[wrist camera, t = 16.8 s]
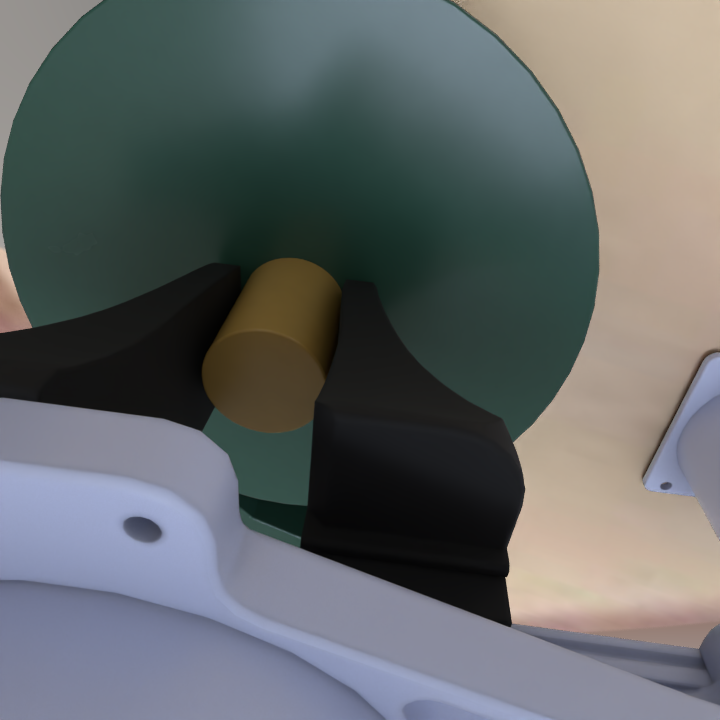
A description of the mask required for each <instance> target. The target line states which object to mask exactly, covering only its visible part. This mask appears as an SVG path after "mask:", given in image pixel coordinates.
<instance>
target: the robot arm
mask: <svg viewBox="0 0 720 720" xmlns="http://www.w3.org/2000/svg"><path fill="white" fill-rule="evenodd" d="M240 293H241V271H240V266H238V265H230V264H222V263H211V264H208V265H205V266H203V267H200V268H198V269H196V270H194V271H192V272H190V273H188V274H186V275H184V276H182V277H180V278H177V279H175V280H173V281H171V282H169V283H167V284H165V285H163V286H161V287H159V288H157V289H154V290H152V291H150V292H147V293H145V294H143V295H140V296H138V297H135V298H133V299H131V300H128V301H126V302H124V303H121V304H118V305H116V306H113V307H110V308H107V309H104V310H101V311H98V312H95V313H91V314H88V315H85V316H82V317H78V318H74V319H70V320H66V321H61V322H57V323H52V324H48V325H44V326H39V327H35V328H30V329H24V330H18V331H12V332H6V333H0V720H720V624H718V625H717V626H715V627H714V628H713V629H711V631H710V632H709V633H708V635H707V636H706V637H705V639H704V640H703V642H702V644H701V646H700V648H699V649H696V648H688V647H681V646H674V645H666V644H659V643H651V642H644V641H637V640H629V639H622V638H615V637H607V636H600V635H593V634H585V633H578V632H570V631H563V630H556V629H548V628H541V627H534V626H526V625H519V624H512V621H511V614H510V607H509V600H508V593H507V586H506V579H505V577H507V576H508V573H509V566H510V565H509V559H508V552H507V546H508V543H509V541H510V538H511V535H512V532H513V530H514V527H515V524H516V522H517V519H518V516H519V513H520V511H521V508H522V505H523V499H524V493H525V486H524V479H523V473H522V468H521V465H520V461H519V458H518V455H517V452H516V449H515V447H514V444H513V442H512V439H511V437H510V434H509V432H508V429H507V427H506V425H505V422H504V420H503V419H502V418H500V417H498V416H496V415H494V414H492V413H490V412H488V411H486V410H484V409H482V408H480V407H479V406H477V405H475V404H473V403H471V402H469V401H467V400H466V399H464V398H463V397H461V396H460V395H458V394H457V393H455V392H454V391H452V390H451V389H449V388H448V387H447V386H445V385H444V384H443V383H441V382H440V381H439V380H438V379H437V378H435V377H434V376H433V375H432V374H431V373H430V372H429V371H427V370H426V369H425V368H424V367H423V366H422V365H421V364H420V363H419V362H418V361H417V360H416V359H415V357H414V356H413V355H412V354H411V353H410V352H409V350H408V349H407V347H406V346H405V345H404V343H403V342H402V340H401V339H400V337H399V336H398V334H397V333H396V331H395V329H394V328H393V326H392V324H391V322H390V320H389V318H388V316H387V314H386V312H385V310H384V308H383V306H382V303H381V301H380V298H379V295H378V290H377V287H376V286H375V284H374V283H372V282H364V281H356V280H348V279H346V281H345V283H344V285H343V288H342V297H341V308H340V319H339V330H338V344H337V348H336V352H335V355H334V358H333V361H332V364H331V367H330V370H329V373H328V375H327V378H326V380H325V383H324V385H323V387H322V389H321V391H320V393H319V395H318V397H317V399H316V400H315V403H314V418H313V432H312V447H311V462H310V476H309V491H308V505H307V512H306V517H305V522H304V526H303V531H302V536H301V542H300V548H298V547H296V546H293V545H290V544H288V543H285V542H282V541H280V540H277V539H274V538H272V537H269V536H267V535H264V534H261V533H259V532H256V531H253V530H251V529H249V528H248V527H247V526H246V525H244V524H243V522H242V520H241V516H240V511H239V492H238V479H237V477H236V474H235V472H234V469H233V466H232V464H231V461H230V458H229V456H228V454H227V453H226V452H225V451H223V450H222V449H221V448H220V447H219V446H217V445H216V444H215V443H214V442H213V441H212V440H210V439H209V438H208V437H207V436H206V435H205V434H203V433H202V431H203V429H204V427H205V425H206V423H207V421H208V419H209V418H210V416H211V414H212V412H213V410H214V408H215V406H214V405H213V404H212V402H211V401H210V399H209V398H208V396H207V394H206V392H205V389H204V386H203V382H202V375H201V374H202V363H203V360H204V357H205V355H206V353H207V351H208V350H209V348H210V346H211V344H212V342H213V341H214V339H215V337H216V335H217V334H218V332H219V330H220V328H221V326H222V325H223V323H224V321H225V319H226V318H227V316H228V314H229V312H230V311H231V309H232V307H233V305H234V303H235V302H236V300H237V298H238V296H239V295H240ZM665 482H667V483H665ZM662 483H665V484H662ZM643 484H644V486H645V488H646V489H647V490H649V491H654V492H662V493H670V494H678V495H686V496H693V497H696V498H697V500H698V502H699V504H700V506H701V507H702V509H703V511H704V513H705V515H706V517H707V519H708V521H709V522H710V524H711V526H712V528H713V530H714V532H715V534H716V535H717V537H718V539H719V541H720V352H719V353H713V354H710V355H709V356H707V357H706V358H705V359H704V361H703V362H702V364H701V366H700V368H699V370H698V372H697V374H696V376H695V378H694V380H693V382H692V384H691V386H690V388H689V390H688V392H687V394H686V396H685V397H684V399H683V401H682V403H681V405H680V407H679V409H678V411H677V413H676V415H675V417H674V419H673V421H672V423H671V425H670V427H669V429H668V431H667V433H666V435H665V437H664V438H663V440H662V442H661V444H660V446H659V448H658V450H657V452H656V454H655V456H654V458H653V460H652V462H651V464H650V466H649V468H648V470H647V472H646V474H645V476H644V478H643Z"/></svg>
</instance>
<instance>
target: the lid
mask: <svg viewBox="0 0 720 720" xmlns="http://www.w3.org/2000/svg"><path fill="white" fill-rule="evenodd" d="M1 214H2V233H3V238H4V243H5V248H6V253H7V259H8V264H9V269H10V272H11V275H12V278H13V281H14V284H15V287H16V290H17V293H18V296H19V299H20V302H21V304H22V306H23V308H24V310H25V313H26V315H27V317H28V319H29V321H30V323H31V325H32V328H35V327H39V326H44V325H48V324H52V323H57V322H61V321H66V320H70V319H74V318H78V317H82V316H85V315H88V314H91V313H95V312H98V311H101V310H104V309H107V308H110V307H113V306H116V305H118V304H121V303H124V302H126V301H128V300H131V299H133V298H135V297H138V296H140V295H143V294H145V293H147V292H150V291H152V290H154V289H157V288H159V287H161V286H163V285H165V284H167V283H169V282H171V281H173V280H175V279H177V278H180V277H182V276H184V275H186V274H188V273H190V272H192V271H194V270H196V269H198V268H200V267H203V266H205V265H208V264H211V263H222V264H230V265H238V266H240V271H241V293H240V295H239V296H238V298H237V300H236V302H235V303H234V305H233V307H232V309H231V311H230V312H229V314H228V316H227V318H226V319H225V321H224V323H223V325H222V326H221V328H220V330H219V332H218V334H217V335H216V337H215V339H214V341H213V342H212V344H211V346H210V348H209V350H208V351H207V353H206V355H205V357H204V360H203V363H202V374H201V375H202V382H203V386H204V389H205V392H206V394H207V396H208V398H209V399H210V401H211V402H212V404H213V405H214V406H215V408H214V410H213V412H212V414H211V416H210V418H209V419H208V421H207V423H206V425H205V427H204V429H203V431H202V433H203V434H205V435H206V436H207V437H208V438H209V439H210V440H212V441H213V442H214V443H215V444H216V445H217V446H219V447H220V448H221V449H222V450H223V451H225V452H226V453H227V454H228V456H229V458H230V461H231V464H232V466H233V469H234V472H235V474H236V477H237V479H238V492H239V494H242V495H245V496H249V497H253V498H256V499H261V500H267V501H272V502H278V503H284V504H292V505H303V506H307V505H308V491H309V476H310V462H311V447H312V432H313V418H314V403H315V400H316V399H317V397H318V395H319V393H320V391H321V389H322V387H323V385H324V383H325V380H326V378H327V375H328V373H329V370H330V367H331V364H332V361H333V358H334V355H335V352H336V348H337V344H338V330H339V319H340V308H341V297H342V288H343V285H344V283H345V281H346V279H348V280H356V281H364V282H372V283H374V284H375V286H376V287H377V290H378V295H379V298H380V301H381V303H382V306H383V308H384V310H385V312H386V314H387V316H388V318H389V320H390V322H391V324H392V326H393V328H394V329H395V331H396V333H397V334H398V336H399V337H400V339H401V340H402V342H403V343H404V345H405V346H406V347H407V349H408V350H409V352H410V353H411V354H412V355H413V356H414V357H415V359H416V360H417V361H418V362H419V363H420V364H421V365H422V366H423V367H424V368H425V369H426V370H427V371H429V372H430V373H431V374H432V375H433V376H434V377H435V378H437V379H438V380H439V381H440V382H441V383H443V384H444V385H445V386H447V387H448V388H449V389H451V390H452V391H454V392H455V393H457V394H458V395H460V396H461V397H463V398H464V399H466V400H467V401H469V402H471V403H473V404H475V405H477V406H479V407H480V408H482V409H484V410H486V411H488V412H490V413H492V414H494V415H496V416H498V417H500V418H502V419H503V420H504V422H505V425H506V427H507V429H508V432H509V434H510V437H511V439H512V442H514V441H515V440H516V439H517V438H518V437H519V436H520V435H521V434H522V433H523V432H525V431H526V430H527V429H528V428H529V427H530V426H531V425H532V424H533V423H534V422H535V421H536V419H537V418H538V417H539V416H540V415H541V413H542V412H543V411H544V410H545V409H546V407H547V406H548V405H549V404H550V403H551V401H552V400H553V399H554V397H555V396H556V394H557V392H558V391H559V389H560V388H561V386H562V384H563V383H564V381H565V380H566V378H567V377H568V375H569V373H570V372H571V369H572V367H573V365H574V363H575V361H576V358H577V356H578V354H579V352H580V350H581V347H582V345H583V343H584V341H585V337H586V334H587V330H588V327H589V323H590V320H591V317H592V313H593V310H594V306H595V298H596V291H597V284H598V277H599V229H598V223H597V217H596V211H595V205H594V199H593V192H592V189H591V186H590V183H589V179H588V176H587V173H586V170H585V167H584V164H583V161H582V158H581V155H580V152H579V149H578V147H577V145H576V143H575V141H574V139H573V137H572V135H571V133H570V131H569V129H568V127H567V125H566V123H565V121H564V119H563V117H562V115H561V113H560V111H559V109H558V108H557V106H556V105H555V104H554V102H553V101H552V99H551V98H550V96H549V95H548V94H547V92H546V91H545V89H544V88H543V87H542V85H541V84H540V82H539V81H538V79H537V78H536V77H535V75H534V74H533V72H532V71H531V70H530V69H529V68H528V67H527V66H526V65H525V64H524V63H523V61H522V60H521V59H520V58H519V57H518V56H517V55H516V54H515V53H514V52H513V51H512V50H511V49H510V48H509V47H508V46H507V45H506V44H505V43H504V42H503V41H502V40H501V39H500V37H499V36H498V35H497V34H495V33H494V32H493V31H491V30H490V29H489V28H488V27H486V26H485V25H484V24H482V23H481V22H480V21H478V20H477V19H476V18H475V17H473V16H472V15H471V14H469V13H468V12H467V11H465V10H464V9H463V8H462V7H460V6H459V5H458V4H456V3H455V2H453V1H451V0H103V1H102V2H101V3H99V4H98V5H97V6H95V7H94V8H93V9H91V10H90V11H89V12H87V13H86V14H85V15H83V16H82V17H81V18H80V19H79V20H78V21H77V22H76V23H75V24H74V25H73V27H72V28H71V29H70V30H69V31H68V32H67V33H66V34H65V35H64V36H63V37H62V38H61V39H60V40H59V42H58V43H57V44H56V45H55V46H54V47H53V48H52V49H51V51H50V53H49V54H48V56H47V57H46V59H45V60H44V62H43V63H42V65H41V66H40V68H39V69H38V71H37V73H36V74H35V76H34V77H33V79H32V80H31V82H30V83H29V86H28V88H27V90H26V93H25V95H24V97H23V100H22V102H21V104H20V107H19V109H18V111H17V113H16V116H15V118H14V120H13V125H12V128H11V132H10V136H9V140H8V144H7V148H6V152H5V156H4V164H3V175H2V185H1Z"/></svg>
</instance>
